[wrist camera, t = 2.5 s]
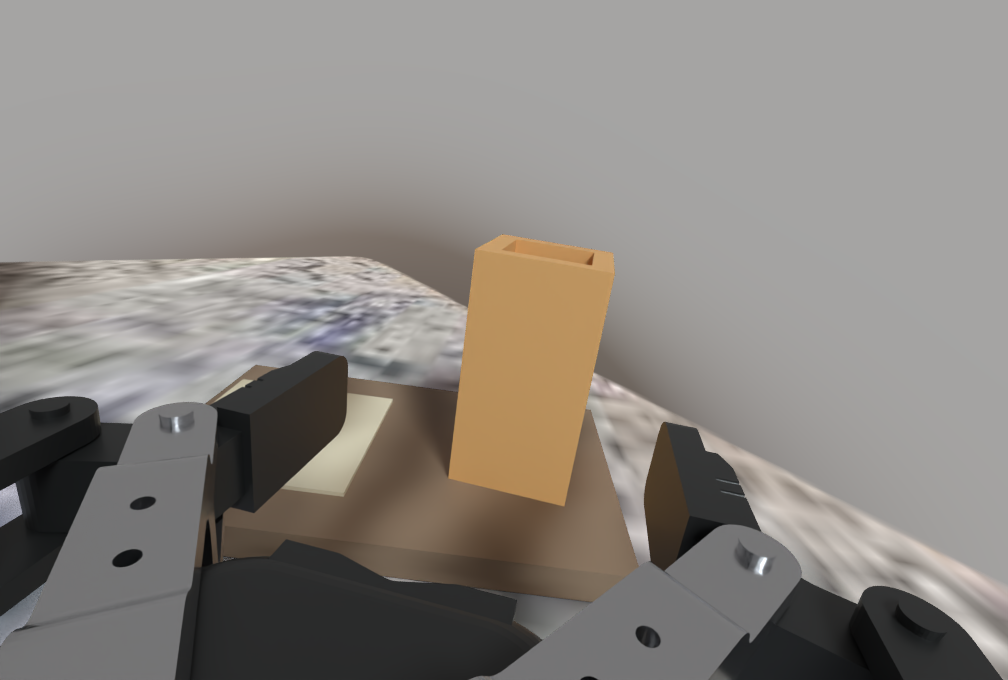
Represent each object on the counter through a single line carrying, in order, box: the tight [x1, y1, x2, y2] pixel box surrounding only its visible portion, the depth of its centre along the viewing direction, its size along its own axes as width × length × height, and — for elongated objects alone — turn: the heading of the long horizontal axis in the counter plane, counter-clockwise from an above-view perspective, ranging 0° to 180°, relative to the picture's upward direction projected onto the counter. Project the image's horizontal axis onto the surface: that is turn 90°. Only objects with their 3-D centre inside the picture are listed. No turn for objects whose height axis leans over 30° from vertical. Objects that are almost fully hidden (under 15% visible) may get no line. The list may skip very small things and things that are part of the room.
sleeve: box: [448, 234, 615, 506], centre depth 24 cm, size 6×6×11 cm
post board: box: [206, 365, 639, 602], centre depth 24 cm, size 22×14×10 cm, turn 89°
